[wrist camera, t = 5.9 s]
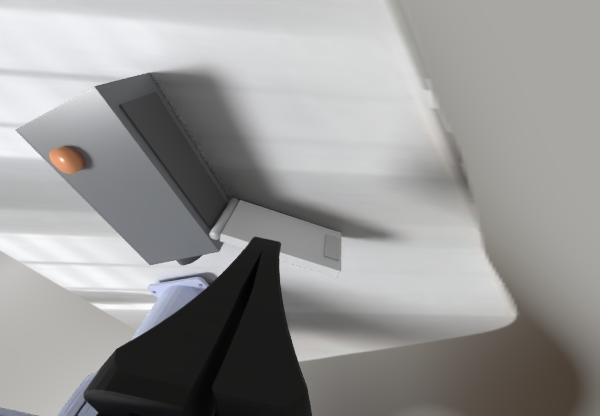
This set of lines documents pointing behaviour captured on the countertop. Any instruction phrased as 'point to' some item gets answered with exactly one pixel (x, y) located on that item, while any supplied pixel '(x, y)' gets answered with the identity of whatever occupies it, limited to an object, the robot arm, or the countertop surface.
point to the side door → (281, 236)
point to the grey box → (134, 168)
